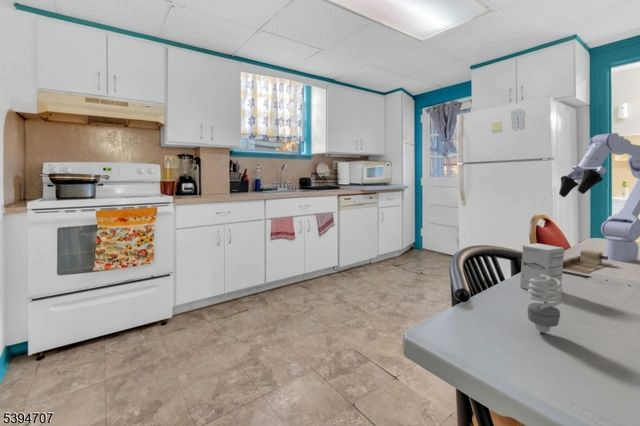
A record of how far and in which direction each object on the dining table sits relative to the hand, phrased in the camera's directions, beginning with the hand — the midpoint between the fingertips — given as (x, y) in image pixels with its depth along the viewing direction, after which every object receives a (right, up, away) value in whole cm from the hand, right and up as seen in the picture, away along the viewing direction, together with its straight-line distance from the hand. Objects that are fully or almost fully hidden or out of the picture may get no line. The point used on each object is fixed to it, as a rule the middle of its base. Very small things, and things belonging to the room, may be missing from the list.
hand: (570, 193), depth 109 cm
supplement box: (-23, -29, -18) cm, 41 cm away
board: (+6, -26, +1) cm, 27 cm away
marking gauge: (+11, -24, +5) cm, 27 cm away
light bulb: (-41, -31, -44) cm, 68 cm away
